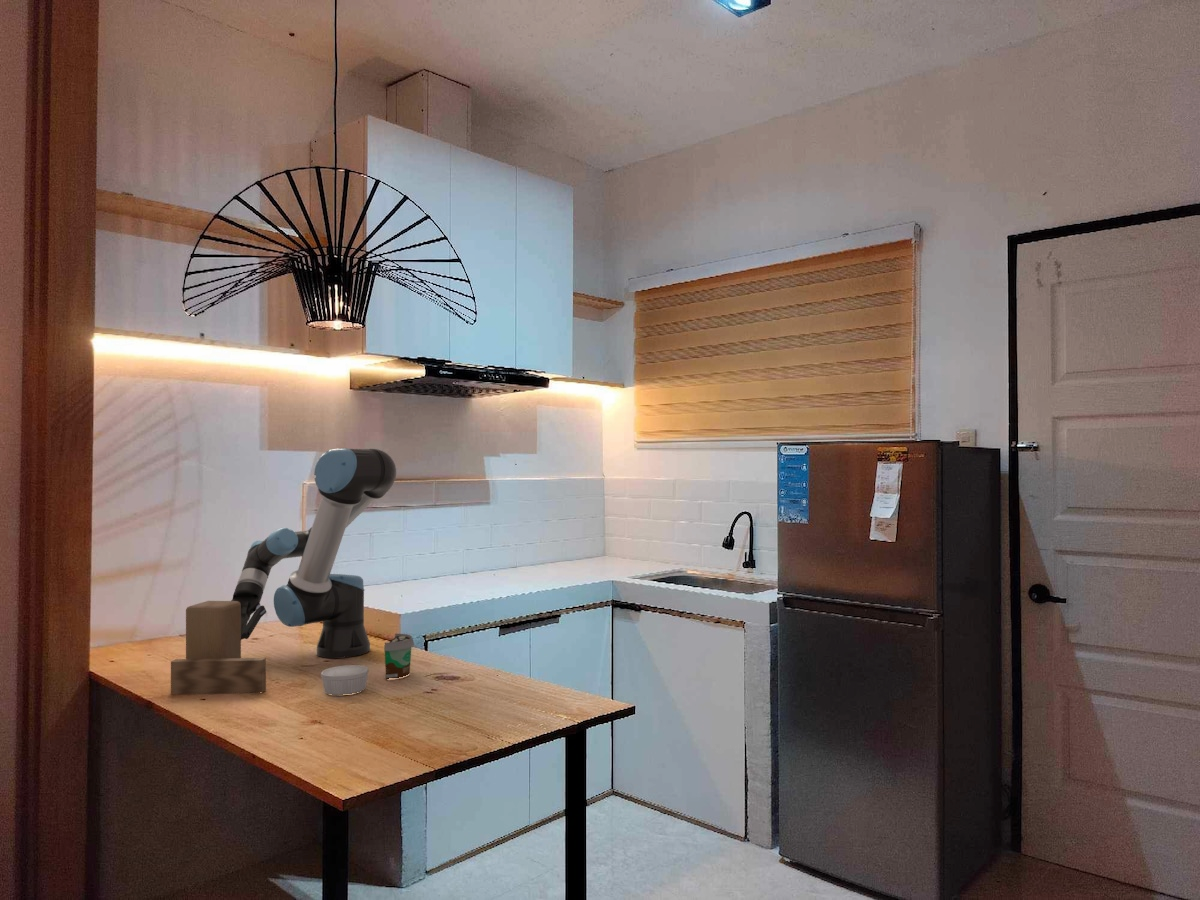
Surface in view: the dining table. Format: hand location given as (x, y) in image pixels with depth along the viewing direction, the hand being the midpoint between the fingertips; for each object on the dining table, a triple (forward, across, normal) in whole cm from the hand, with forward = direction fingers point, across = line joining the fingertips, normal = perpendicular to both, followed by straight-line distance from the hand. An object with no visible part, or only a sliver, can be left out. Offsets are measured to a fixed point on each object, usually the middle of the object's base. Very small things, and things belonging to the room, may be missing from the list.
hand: (225, 659), depth 223 cm
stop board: (+16, -7, +12) cm, 21 cm away
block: (+9, -1, +4) cm, 9 cm away
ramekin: (+17, -38, +12) cm, 43 cm away
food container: (+7, -49, +2) cm, 49 cm away
